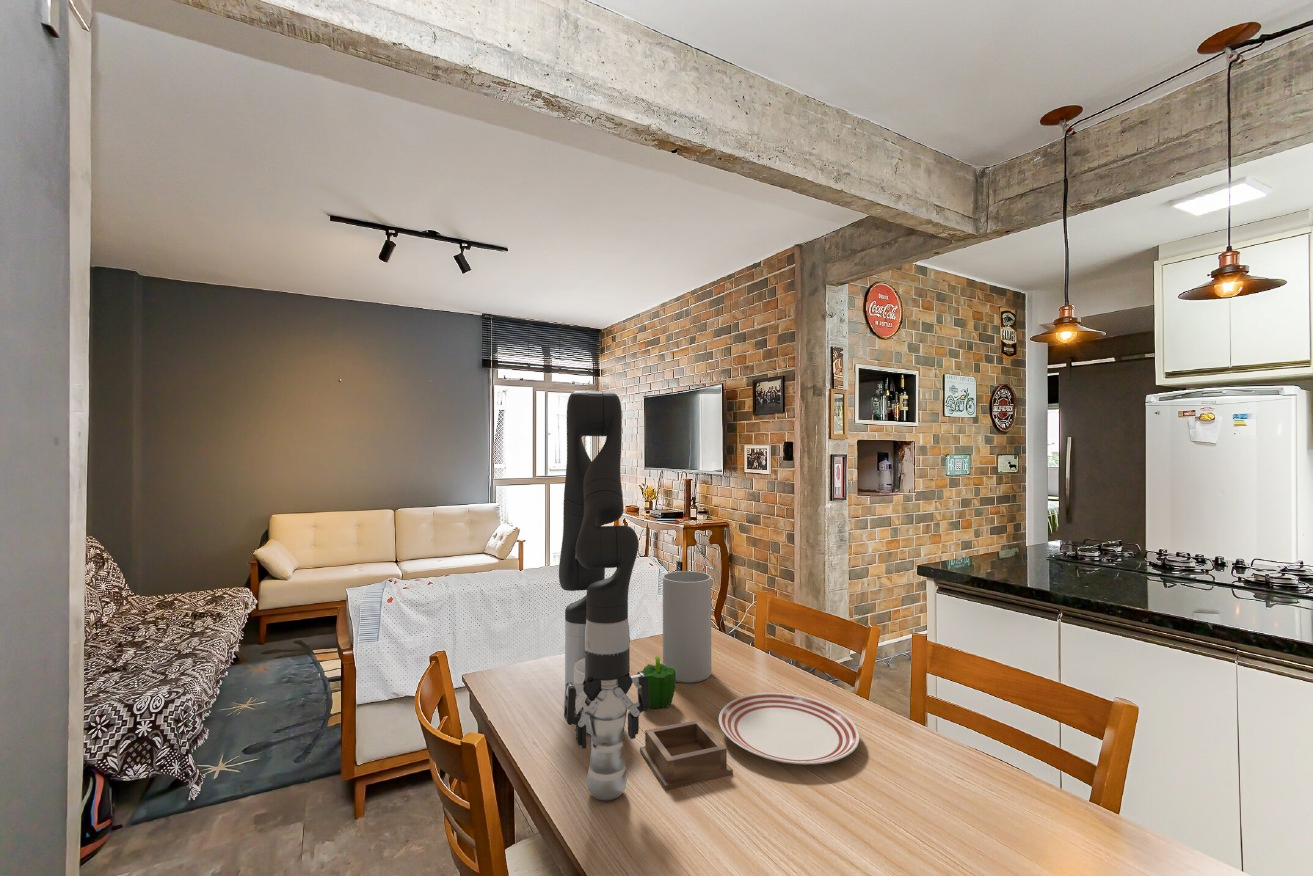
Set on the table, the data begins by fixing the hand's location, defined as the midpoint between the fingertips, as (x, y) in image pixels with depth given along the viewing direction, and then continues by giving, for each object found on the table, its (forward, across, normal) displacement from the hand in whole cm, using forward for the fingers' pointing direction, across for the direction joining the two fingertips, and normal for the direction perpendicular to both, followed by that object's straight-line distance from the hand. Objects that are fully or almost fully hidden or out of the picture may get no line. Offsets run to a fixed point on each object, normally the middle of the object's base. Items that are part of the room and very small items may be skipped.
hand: (607, 741), depth 94 cm
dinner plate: (+9, -39, -5) cm, 40 cm away
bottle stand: (+9, -16, -4) cm, 19 cm away
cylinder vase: (+9, -33, -41) cm, 53 cm away
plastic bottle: (+9, 0, 0) cm, 9 cm away
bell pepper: (+9, -20, -28) cm, 36 cm away
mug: (+9, -5, -21) cm, 24 cm away
